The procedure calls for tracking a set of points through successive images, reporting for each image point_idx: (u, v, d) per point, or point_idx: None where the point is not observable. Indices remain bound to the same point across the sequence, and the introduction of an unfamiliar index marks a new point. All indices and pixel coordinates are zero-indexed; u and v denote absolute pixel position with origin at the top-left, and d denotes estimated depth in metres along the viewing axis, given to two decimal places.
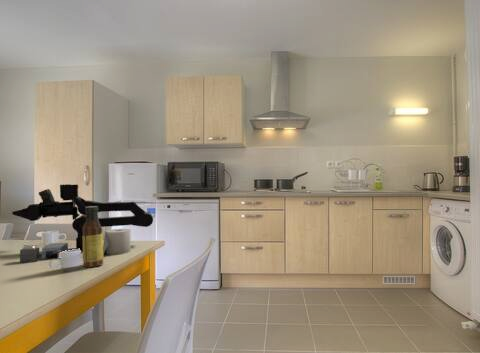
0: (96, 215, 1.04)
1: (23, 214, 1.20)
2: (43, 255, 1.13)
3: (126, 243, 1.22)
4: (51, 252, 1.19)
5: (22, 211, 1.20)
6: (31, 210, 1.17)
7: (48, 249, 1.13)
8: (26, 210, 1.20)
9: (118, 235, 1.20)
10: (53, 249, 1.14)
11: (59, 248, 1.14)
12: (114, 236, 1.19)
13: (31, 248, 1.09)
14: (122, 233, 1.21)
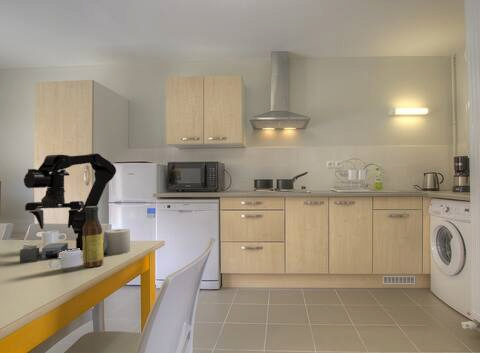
0: (96, 215, 1.04)
1: (73, 216, 1.20)
2: (43, 255, 1.13)
3: (125, 243, 1.22)
4: (51, 252, 1.19)
5: (72, 217, 1.19)
6: (82, 206, 1.20)
7: (48, 249, 1.13)
8: None
9: (117, 235, 1.20)
10: (53, 249, 1.14)
11: (59, 248, 1.14)
12: (114, 236, 1.19)
13: (31, 248, 1.09)
14: (121, 233, 1.20)
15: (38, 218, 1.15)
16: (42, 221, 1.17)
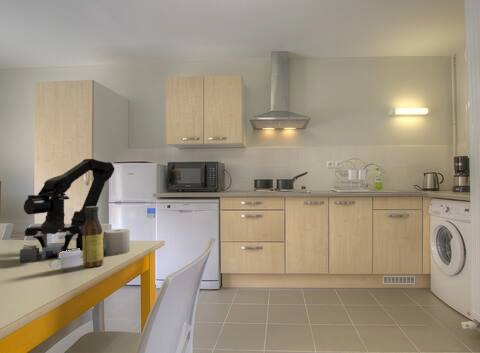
0: (96, 215, 1.04)
1: (69, 241, 1.20)
2: (43, 255, 1.13)
3: (124, 243, 1.21)
4: (51, 252, 1.19)
5: (68, 242, 1.18)
6: (81, 231, 1.19)
7: (48, 249, 1.13)
8: None
9: (117, 235, 1.19)
10: (53, 249, 1.13)
11: (59, 248, 1.14)
12: (113, 236, 1.19)
13: (31, 248, 1.09)
14: (121, 233, 1.20)
15: (42, 243, 1.15)
16: None
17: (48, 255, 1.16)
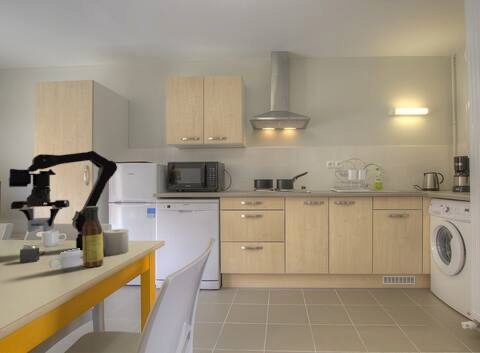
0: (96, 215, 1.04)
1: (54, 215, 1.23)
2: (29, 227, 1.16)
3: (123, 244, 1.21)
4: (37, 226, 1.22)
5: (53, 216, 1.22)
6: (67, 205, 1.23)
7: (33, 222, 1.16)
8: None
9: (116, 235, 1.19)
10: (38, 222, 1.17)
11: (44, 221, 1.17)
12: (112, 237, 1.18)
13: (31, 248, 1.09)
14: (120, 233, 1.20)
15: (28, 216, 1.19)
16: None
17: (34, 228, 1.19)
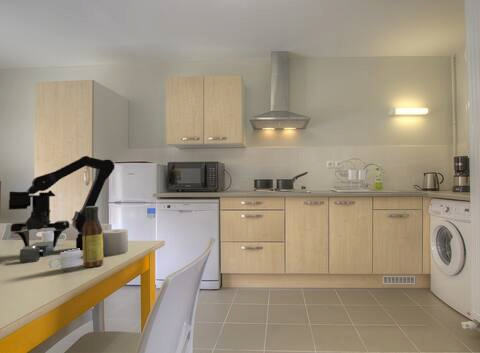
0: (96, 215, 1.04)
1: (58, 236, 1.23)
2: None
3: (123, 244, 1.20)
4: None
5: (57, 237, 1.22)
6: (66, 226, 1.22)
7: None
8: None
9: (115, 236, 1.19)
10: (38, 247, 1.17)
11: (44, 246, 1.17)
12: (111, 237, 1.18)
13: (31, 248, 1.09)
14: (119, 234, 1.19)
15: (23, 238, 1.18)
16: (28, 241, 1.20)
17: None
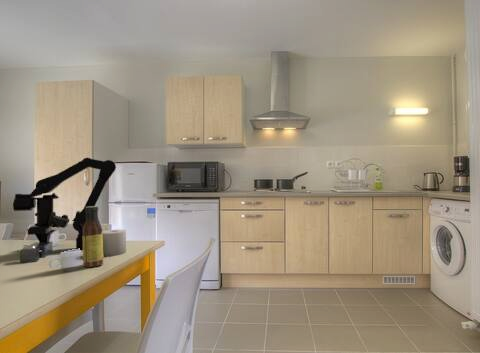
0: (96, 215, 1.04)
1: None
2: None
3: (121, 244, 1.20)
4: None
5: None
6: None
7: None
8: None
9: (113, 236, 1.18)
10: None
11: (43, 247, 1.16)
12: (109, 237, 1.17)
13: (31, 248, 1.09)
14: (117, 234, 1.18)
15: (47, 238, 1.25)
16: None
17: None
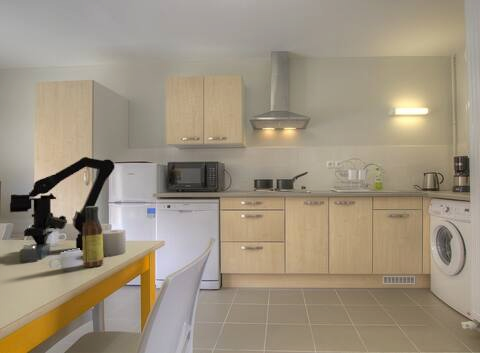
0: (96, 215, 1.04)
1: None
2: None
3: (120, 244, 1.19)
4: None
5: None
6: None
7: None
8: None
9: (112, 236, 1.17)
10: None
11: (39, 249, 1.12)
12: (109, 237, 1.17)
13: (31, 248, 1.09)
14: (117, 234, 1.18)
15: (45, 240, 1.22)
16: None
17: None
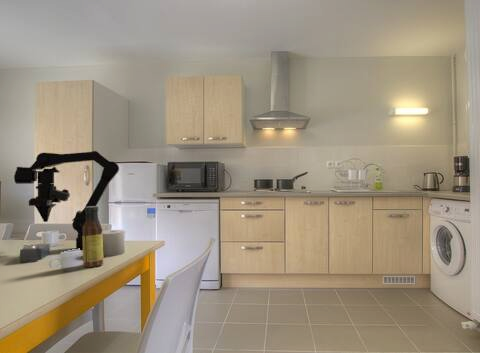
0: (96, 215, 1.04)
1: None
2: None
3: (119, 245, 1.19)
4: None
5: None
6: None
7: None
8: None
9: (111, 236, 1.17)
10: None
11: (39, 249, 1.12)
12: (108, 238, 1.17)
13: (31, 248, 1.09)
14: (115, 234, 1.18)
15: (48, 211, 1.26)
16: None
17: None
